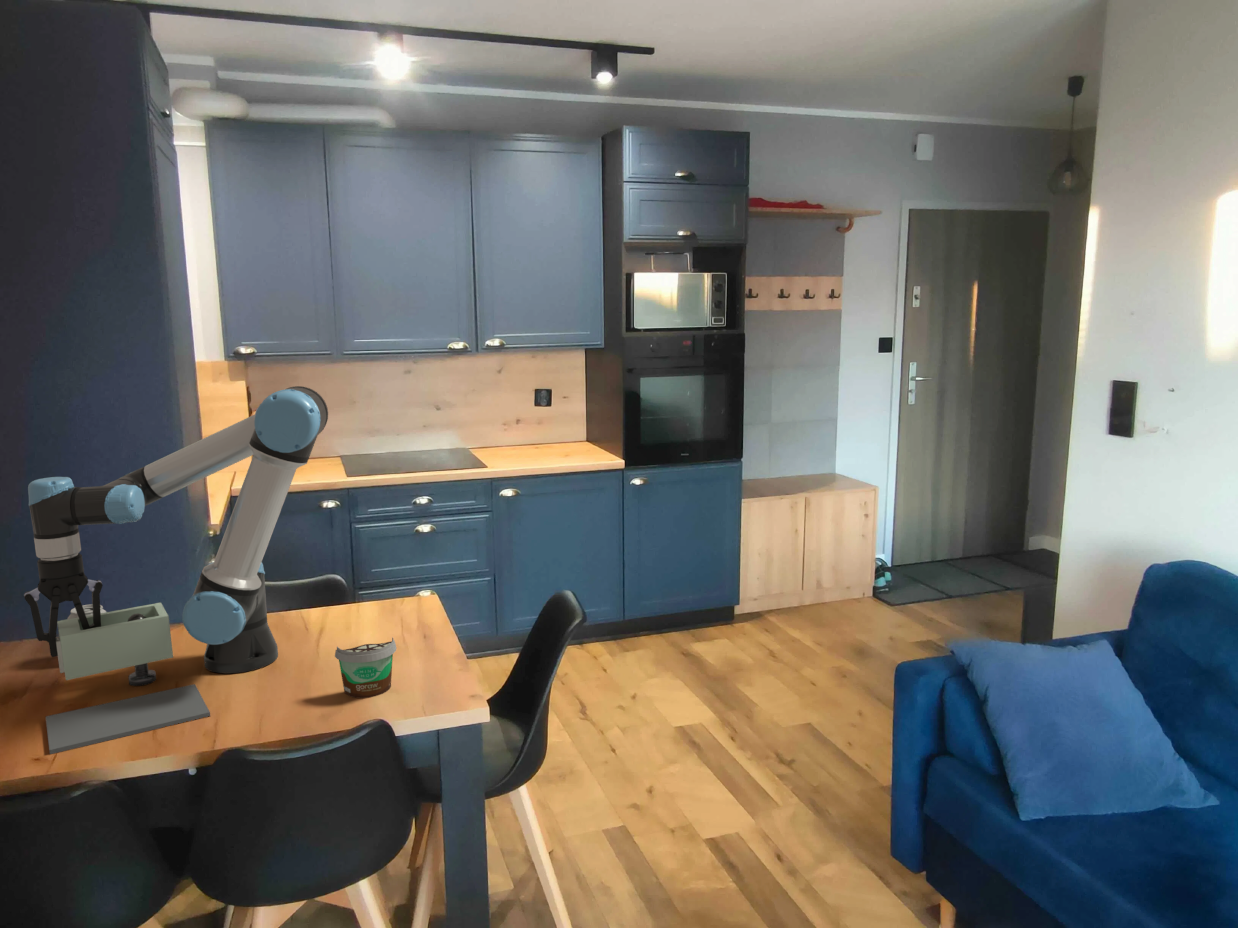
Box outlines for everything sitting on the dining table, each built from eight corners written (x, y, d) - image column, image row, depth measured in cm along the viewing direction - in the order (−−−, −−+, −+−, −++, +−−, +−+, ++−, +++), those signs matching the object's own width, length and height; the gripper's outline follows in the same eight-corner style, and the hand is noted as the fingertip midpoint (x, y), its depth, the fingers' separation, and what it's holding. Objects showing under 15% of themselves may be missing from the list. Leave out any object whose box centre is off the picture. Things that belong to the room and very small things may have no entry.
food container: (342, 704, 173) (339, 657, 171) (336, 693, 178) (334, 646, 177) (404, 692, 178) (402, 646, 177) (397, 681, 184) (395, 636, 182)
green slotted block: (165, 641, 191) (160, 602, 189) (173, 657, 182) (168, 615, 180) (62, 662, 180) (57, 621, 178) (66, 680, 171) (60, 636, 169)
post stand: (154, 674, 188) (148, 608, 185) (157, 682, 184) (151, 614, 181) (127, 679, 185) (121, 612, 182) (130, 687, 181) (124, 619, 178)
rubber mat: (195, 687, 181) (195, 683, 181) (210, 715, 168) (210, 712, 168) (46, 720, 166) (45, 716, 166) (49, 754, 153) (49, 749, 153)
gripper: (105, 544, 180) (119, 652, 184) (8, 558, 171) (24, 671, 175) (109, 552, 174) (123, 663, 178) (8, 567, 165) (25, 684, 169)
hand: (74, 667), depth 176 cm, fingers closed on green slotted block, 3 cm apart
